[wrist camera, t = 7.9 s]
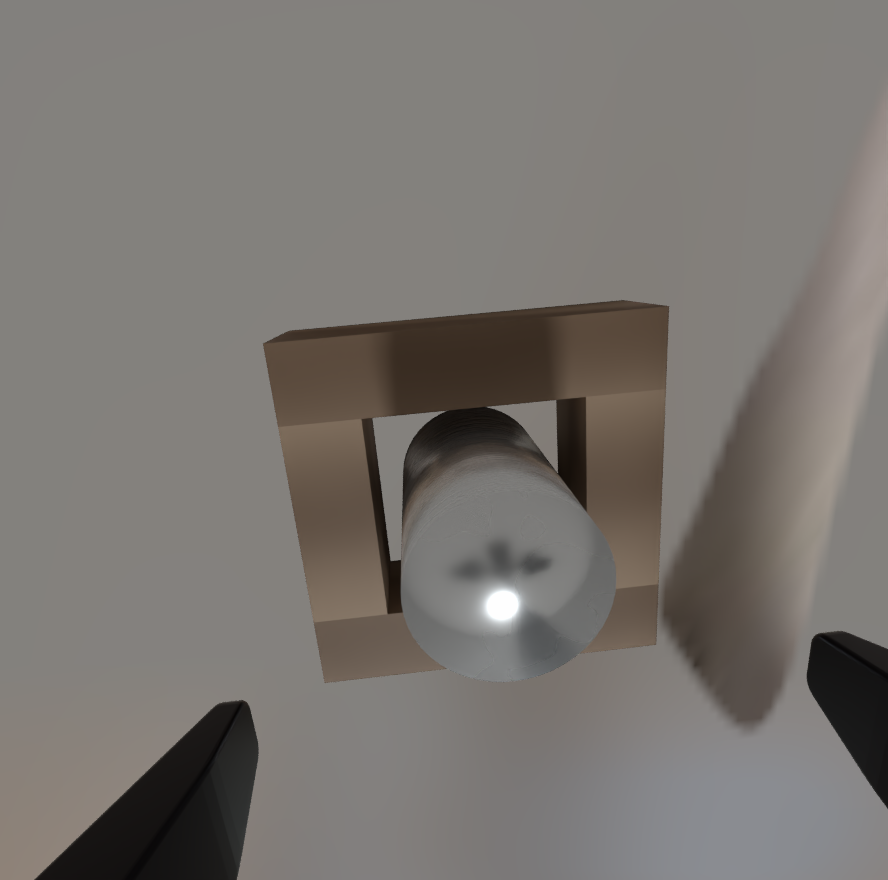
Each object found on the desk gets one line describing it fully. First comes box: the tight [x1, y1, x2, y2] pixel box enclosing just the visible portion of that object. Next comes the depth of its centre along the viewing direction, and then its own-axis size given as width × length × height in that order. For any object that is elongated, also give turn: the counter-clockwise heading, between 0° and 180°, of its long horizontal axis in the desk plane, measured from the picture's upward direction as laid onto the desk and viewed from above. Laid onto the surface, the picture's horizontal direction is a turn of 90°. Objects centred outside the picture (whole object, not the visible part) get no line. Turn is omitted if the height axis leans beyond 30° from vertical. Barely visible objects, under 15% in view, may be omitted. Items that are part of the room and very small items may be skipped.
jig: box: [263, 300, 669, 683], centre depth 16 cm, size 10×10×3 cm
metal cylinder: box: [401, 407, 616, 682], centre depth 14 cm, size 4×4×7 cm
